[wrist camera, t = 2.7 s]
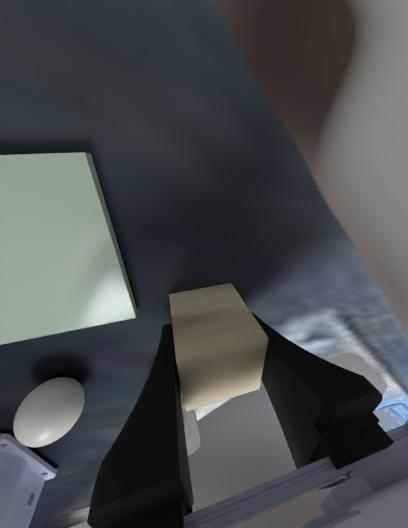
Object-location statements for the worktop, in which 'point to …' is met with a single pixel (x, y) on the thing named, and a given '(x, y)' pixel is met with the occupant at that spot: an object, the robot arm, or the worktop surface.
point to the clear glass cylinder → (190, 428)
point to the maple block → (216, 345)
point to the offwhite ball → (48, 412)
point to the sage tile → (57, 249)
